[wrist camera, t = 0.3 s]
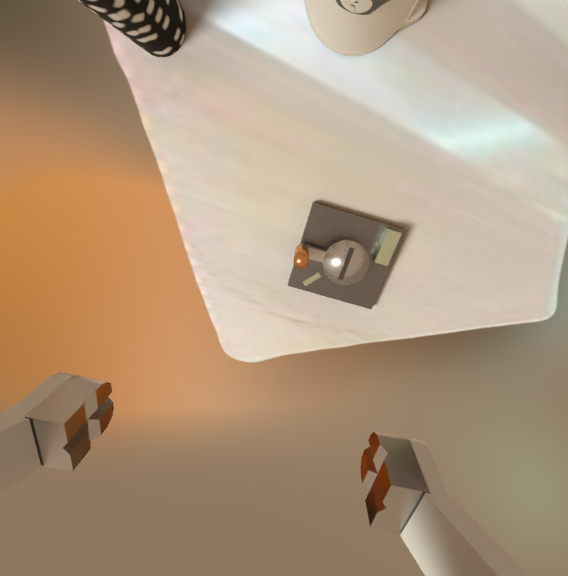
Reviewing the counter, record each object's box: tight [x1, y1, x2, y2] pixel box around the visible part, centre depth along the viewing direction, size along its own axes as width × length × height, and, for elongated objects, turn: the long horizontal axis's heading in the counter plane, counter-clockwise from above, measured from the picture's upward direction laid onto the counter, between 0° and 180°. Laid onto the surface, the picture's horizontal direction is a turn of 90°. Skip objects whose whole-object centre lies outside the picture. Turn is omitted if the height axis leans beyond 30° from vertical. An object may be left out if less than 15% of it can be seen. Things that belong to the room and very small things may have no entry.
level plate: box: [288, 202, 407, 309], centre depth 51 cm, size 16×17×3 cm
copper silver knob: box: [294, 238, 369, 285], centre depth 48 cm, size 8×13×8 cm, turn 75°
